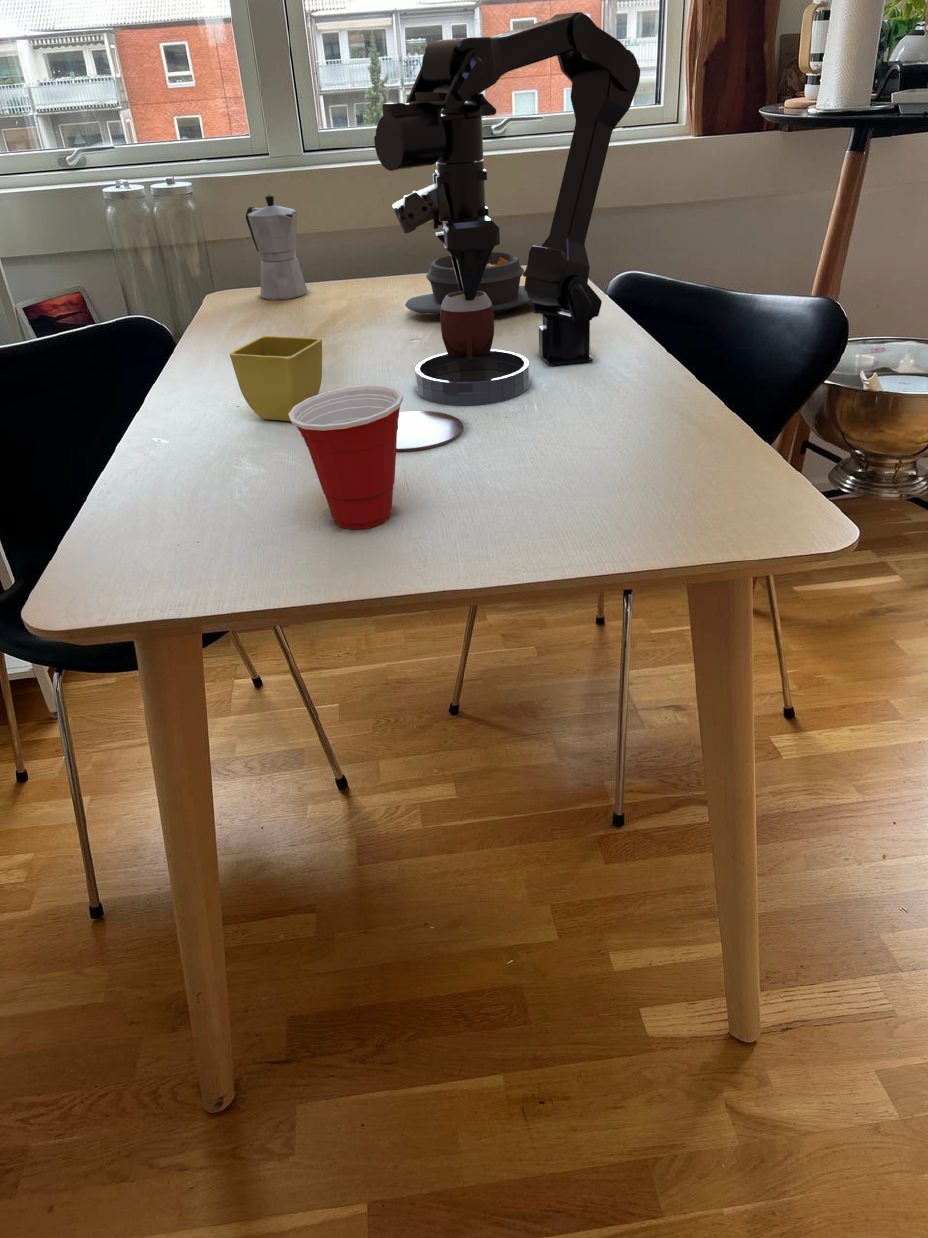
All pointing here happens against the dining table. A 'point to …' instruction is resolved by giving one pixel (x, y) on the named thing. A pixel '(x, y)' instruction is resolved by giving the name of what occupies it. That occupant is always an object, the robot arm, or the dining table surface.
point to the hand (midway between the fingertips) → (466, 295)
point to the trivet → (426, 430)
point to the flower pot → (278, 373)
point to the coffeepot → (277, 250)
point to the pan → (472, 378)
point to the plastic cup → (353, 450)
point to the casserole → (495, 283)
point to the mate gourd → (467, 326)
